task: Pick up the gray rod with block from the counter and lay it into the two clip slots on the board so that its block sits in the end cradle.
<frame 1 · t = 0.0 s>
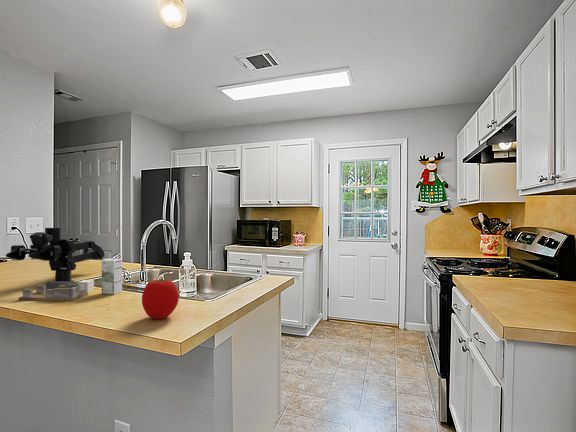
hand: (17, 255, 127), 17 cm above the countertop, tool horizontal, fingers open, 9 cm apart
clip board: (45, 297, 127), on the countertop
gray rod with block: (64, 290, 138), on the countertop
red apple: (160, 318, 104), on the countertop
syrup box: (111, 293, 135), on the countertop
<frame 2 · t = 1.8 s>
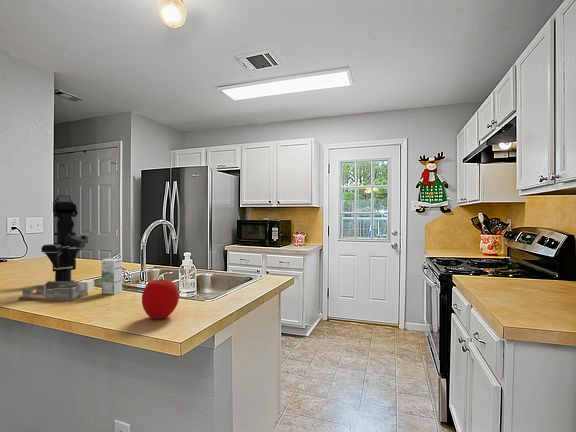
hand: (64, 266, 138), 11 cm above the countertop, tool pointing down, fingers open, 9 cm apart
nothing on the countertop moved.
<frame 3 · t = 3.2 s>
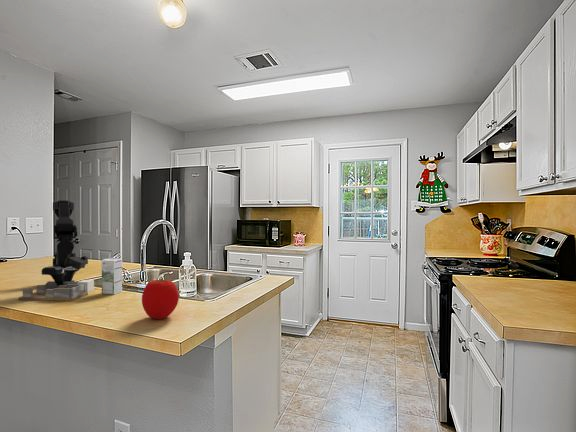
hand: (64, 287, 138), 1 cm above the countertop, tool pointing down, fingers closed on gray rod with block, 4 cm apart
gray rod with block: (64, 290, 138), on the countertop, touching gripper
everything else where it was.
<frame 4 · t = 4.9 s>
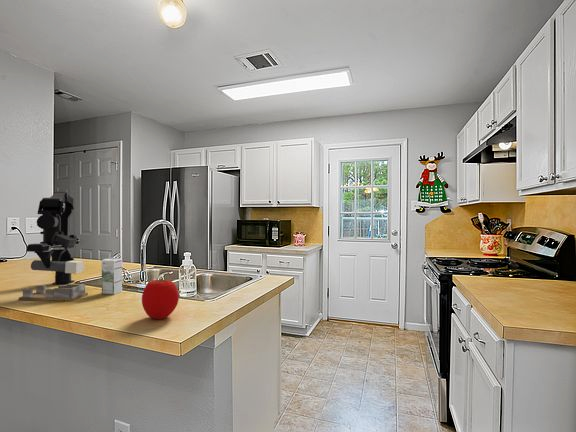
hand: (51, 267, 130), 12 cm above the countertop, tool pointing down, fingers closed on gray rod with block, 4 cm apart
gray rod with block: (51, 270, 130), point 10 cm above the countertop, touching gripper
everything else where it was.
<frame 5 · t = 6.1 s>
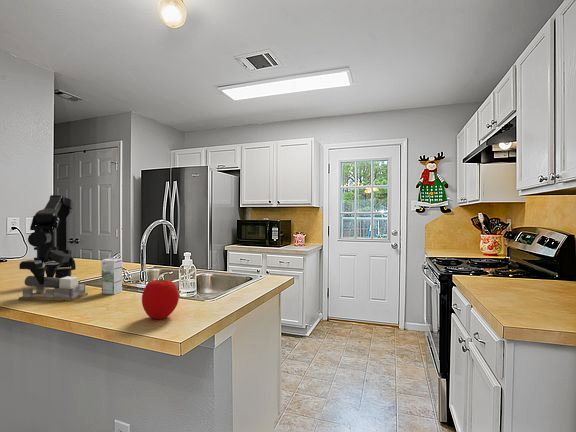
hand: (45, 283, 127), 6 cm above the countertop, tool pointing down, fingers closed on gray rod with block, 4 cm apart
gray rod with block: (45, 287, 127), point 4 cm above the countertop, touching gripper
everything else where it was.
when the fingers open (4 cm above the countertop, at t = 6.8 s): gray rod with block drops 1 cm, resting on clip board.
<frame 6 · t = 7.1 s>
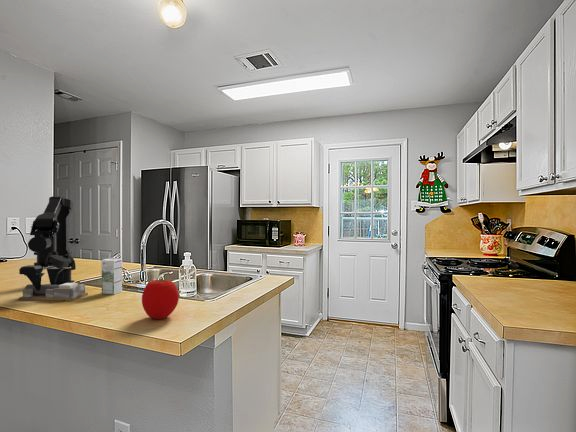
hand: (45, 288, 127), 4 cm above the countertop, tool pointing down, fingers open, 7 cm apart
gray rod with block: (45, 294, 127), point 1 cm above the countertop, touching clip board
everything else where it was.
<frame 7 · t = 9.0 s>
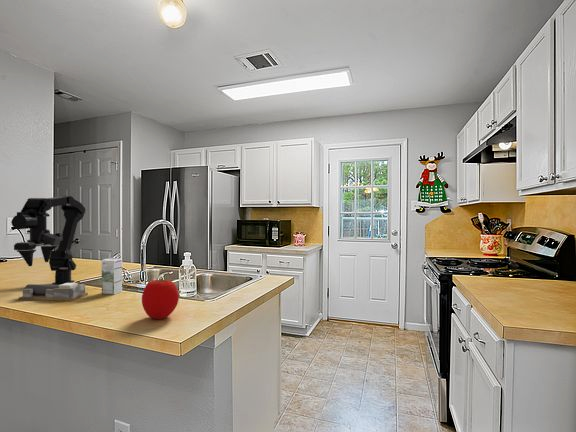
hand: (38, 264, 136), 12 cm above the countertop, tool pointing down, fingers open, 9 cm apart
nothing on the countertop moved.
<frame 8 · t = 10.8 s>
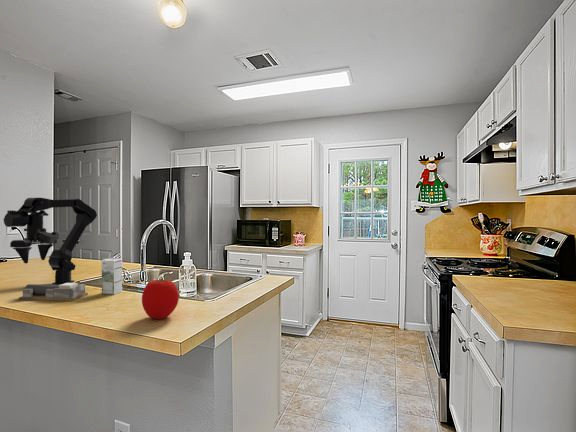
hand: (34, 261, 140), 12 cm above the countertop, tool pointing down, fingers open, 9 cm apart
nothing on the countertop moved.
at the end: gray rod with block 0.2 cm off-centre on the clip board, point 1.0 cm above the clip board's base; gray rod with block tilted 0°; the gripper is holding nothing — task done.
